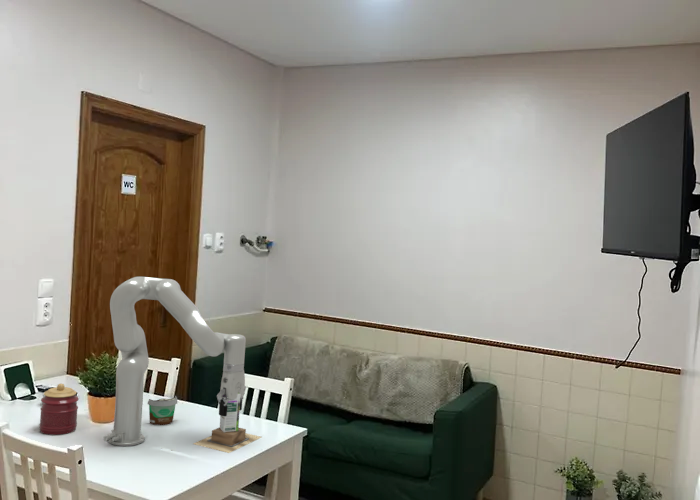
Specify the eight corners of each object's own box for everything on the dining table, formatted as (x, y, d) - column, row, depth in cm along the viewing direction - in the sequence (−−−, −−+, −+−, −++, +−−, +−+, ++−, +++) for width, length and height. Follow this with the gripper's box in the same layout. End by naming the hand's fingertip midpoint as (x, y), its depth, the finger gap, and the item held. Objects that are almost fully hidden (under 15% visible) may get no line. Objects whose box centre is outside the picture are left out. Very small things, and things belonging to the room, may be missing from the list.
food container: (152, 427, 253) (154, 402, 253) (146, 423, 258) (147, 398, 258) (181, 423, 261) (183, 399, 261) (174, 419, 266) (176, 395, 266)
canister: (31, 429, 240) (34, 383, 240) (62, 422, 251) (65, 377, 251) (52, 438, 234) (55, 389, 233) (83, 430, 245) (86, 384, 244)
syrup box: (223, 432, 238) (226, 394, 238) (219, 427, 243) (221, 389, 243) (238, 431, 241) (241, 393, 240) (233, 426, 246) (236, 389, 246)
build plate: (228, 456, 229) (229, 452, 229) (192, 447, 235) (192, 442, 235) (261, 440, 249) (262, 436, 249) (227, 431, 255) (227, 428, 255)
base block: (231, 446, 236) (232, 435, 236) (211, 441, 240) (212, 430, 240) (245, 439, 244) (245, 429, 244) (225, 434, 248) (226, 424, 248)
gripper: (228, 373, 232) (225, 420, 232) (254, 365, 248) (251, 409, 248) (211, 369, 235) (208, 416, 235) (238, 362, 251) (235, 405, 251)
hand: (230, 412), depth 242 cm, fingers open, 9 cm apart
